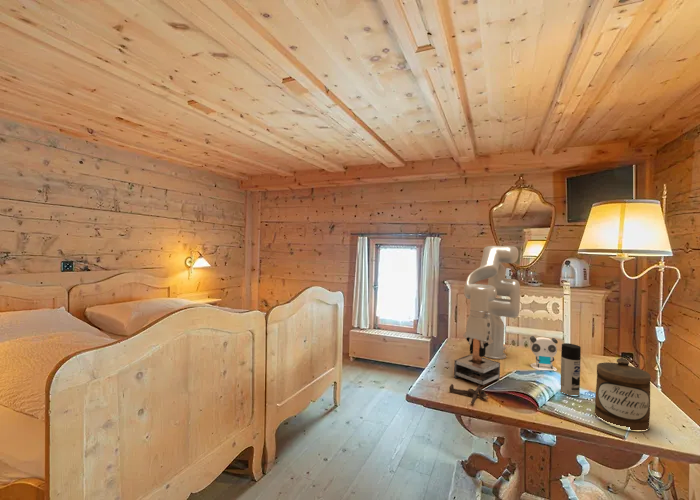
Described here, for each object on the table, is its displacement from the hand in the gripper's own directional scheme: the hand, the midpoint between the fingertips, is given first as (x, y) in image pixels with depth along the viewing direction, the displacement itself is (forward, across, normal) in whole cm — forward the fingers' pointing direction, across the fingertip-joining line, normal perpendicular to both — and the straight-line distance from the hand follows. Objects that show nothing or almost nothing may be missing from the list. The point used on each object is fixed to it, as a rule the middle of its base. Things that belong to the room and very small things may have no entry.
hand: (477, 354), depth 151 cm
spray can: (+11, -31, -18) cm, 38 cm away
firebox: (+11, 0, 0) cm, 11 cm away
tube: (+7, 0, 0) cm, 7 cm away
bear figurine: (+12, -7, +17) cm, 22 cm away
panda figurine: (+11, -12, -41) cm, 44 cm away
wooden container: (+12, -50, -8) cm, 52 cm away
